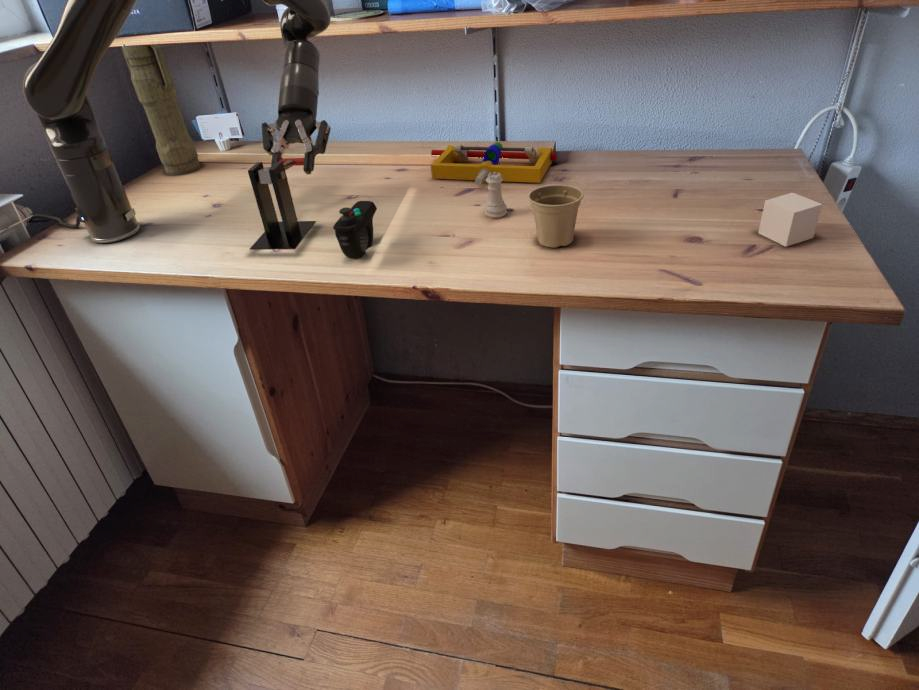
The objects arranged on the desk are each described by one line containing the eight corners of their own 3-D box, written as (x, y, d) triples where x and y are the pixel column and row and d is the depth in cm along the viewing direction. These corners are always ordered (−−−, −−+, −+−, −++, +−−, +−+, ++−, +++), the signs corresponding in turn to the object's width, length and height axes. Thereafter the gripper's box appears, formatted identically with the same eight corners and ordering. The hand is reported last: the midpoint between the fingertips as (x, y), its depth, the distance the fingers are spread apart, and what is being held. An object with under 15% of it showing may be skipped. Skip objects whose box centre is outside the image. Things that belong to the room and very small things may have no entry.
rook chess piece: (488, 208, 125) (485, 170, 121) (509, 210, 124) (508, 170, 119) (482, 218, 122) (479, 178, 117) (504, 219, 121) (502, 179, 116)
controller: (338, 269, 109) (326, 216, 104) (363, 237, 119) (353, 187, 113) (361, 270, 108) (351, 216, 103) (384, 238, 118) (376, 187, 112)
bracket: (275, 227, 127) (255, 155, 118) (317, 226, 125) (300, 153, 116) (251, 255, 117) (227, 178, 108) (296, 254, 115) (276, 177, 107)
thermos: (190, 176, 157) (137, 21, 136) (153, 174, 160) (96, 23, 140) (212, 163, 163) (165, 14, 143) (176, 162, 167) (125, 16, 147)
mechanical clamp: (433, 132, 149) (558, 134, 140) (435, 158, 153) (557, 161, 144) (404, 158, 135) (540, 163, 126) (407, 186, 139) (540, 192, 130)
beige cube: (784, 225, 109) (792, 192, 106) (813, 238, 105) (822, 204, 101) (758, 233, 108) (765, 200, 104) (785, 246, 103) (794, 212, 99)
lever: (282, 167, 126) (280, 155, 125) (308, 166, 125) (306, 154, 124) (251, 184, 113) (248, 170, 112) (280, 183, 112) (278, 169, 111)
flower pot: (530, 228, 116) (530, 184, 111) (582, 228, 114) (583, 183, 109) (526, 252, 109) (525, 205, 104) (581, 252, 107) (583, 205, 102)
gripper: (256, 85, 123) (249, 166, 121) (326, 81, 121) (319, 163, 119) (273, 105, 131) (266, 181, 128) (339, 102, 129) (333, 180, 126)
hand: (292, 172), depth 124 cm, fingers closed on lever, 5 cm apart
